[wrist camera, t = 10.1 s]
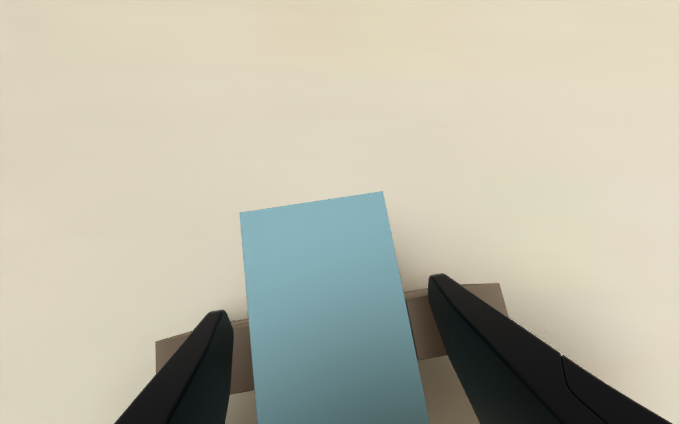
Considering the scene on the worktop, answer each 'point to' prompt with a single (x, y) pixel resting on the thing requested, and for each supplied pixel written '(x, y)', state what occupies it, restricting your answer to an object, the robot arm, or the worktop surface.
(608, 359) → the worktop surface
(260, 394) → the teal plate
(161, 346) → the brown stepped bar
